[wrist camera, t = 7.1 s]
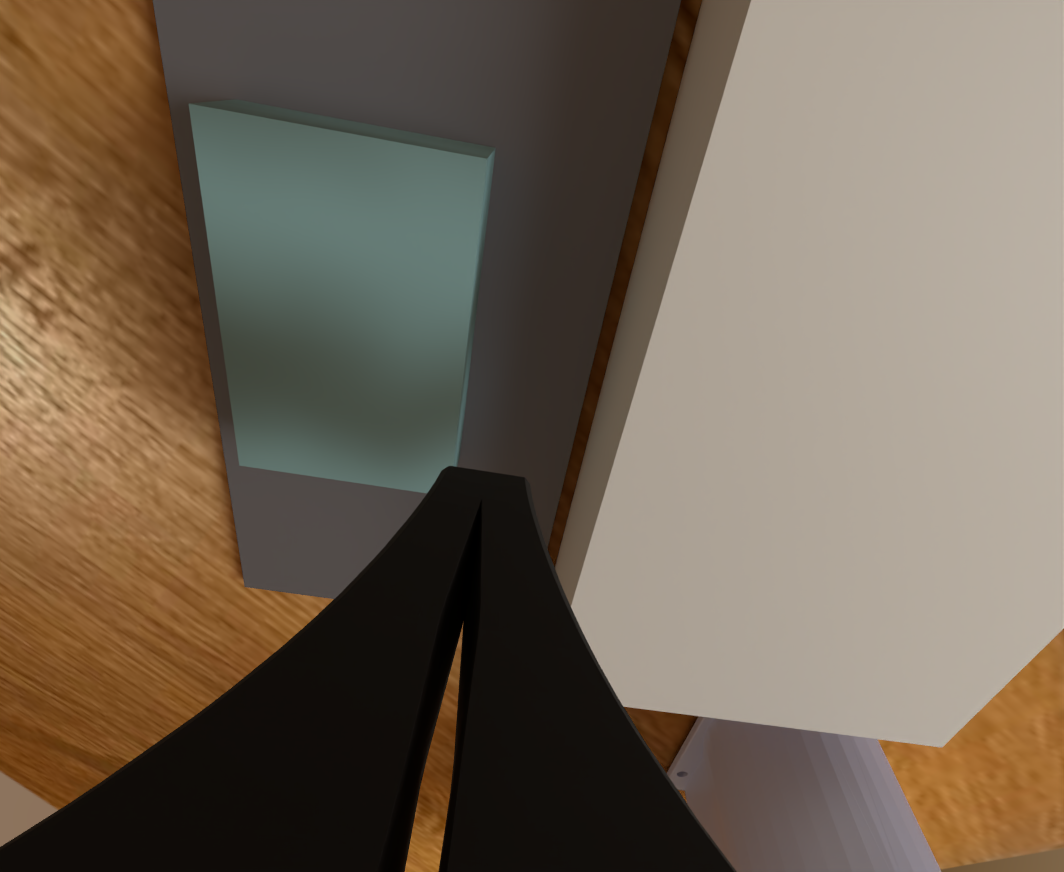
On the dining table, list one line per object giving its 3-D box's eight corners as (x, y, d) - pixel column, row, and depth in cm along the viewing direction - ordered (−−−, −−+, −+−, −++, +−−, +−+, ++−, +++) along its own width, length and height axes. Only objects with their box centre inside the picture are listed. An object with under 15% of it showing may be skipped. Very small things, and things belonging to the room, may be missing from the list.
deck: (885, 649, 23) (941, 747, 20) (545, 602, 22) (544, 696, 19) (1431, -45, 11) (1802, -95, 8) (754, -202, 11) (848, -329, 7)
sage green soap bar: (239, 465, 16) (268, 428, 18) (449, 496, 17) (459, 457, 18) (188, 103, 11) (235, 99, 13) (487, 158, 12) (495, 147, 13)
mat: (528, 617, 23) (528, 625, 22) (249, 579, 22) (244, 586, 22) (710, -134, 11) (715, -140, 11) (124, -263, 10) (109, -274, 10)
